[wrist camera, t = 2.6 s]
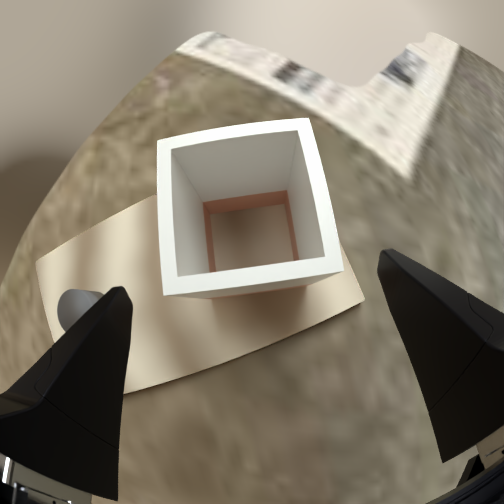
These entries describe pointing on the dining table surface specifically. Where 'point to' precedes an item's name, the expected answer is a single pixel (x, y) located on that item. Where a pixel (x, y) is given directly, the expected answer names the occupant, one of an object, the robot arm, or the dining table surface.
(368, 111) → the dining table surface
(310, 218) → the sleeve
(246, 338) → the pin board
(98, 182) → the dining table surface
